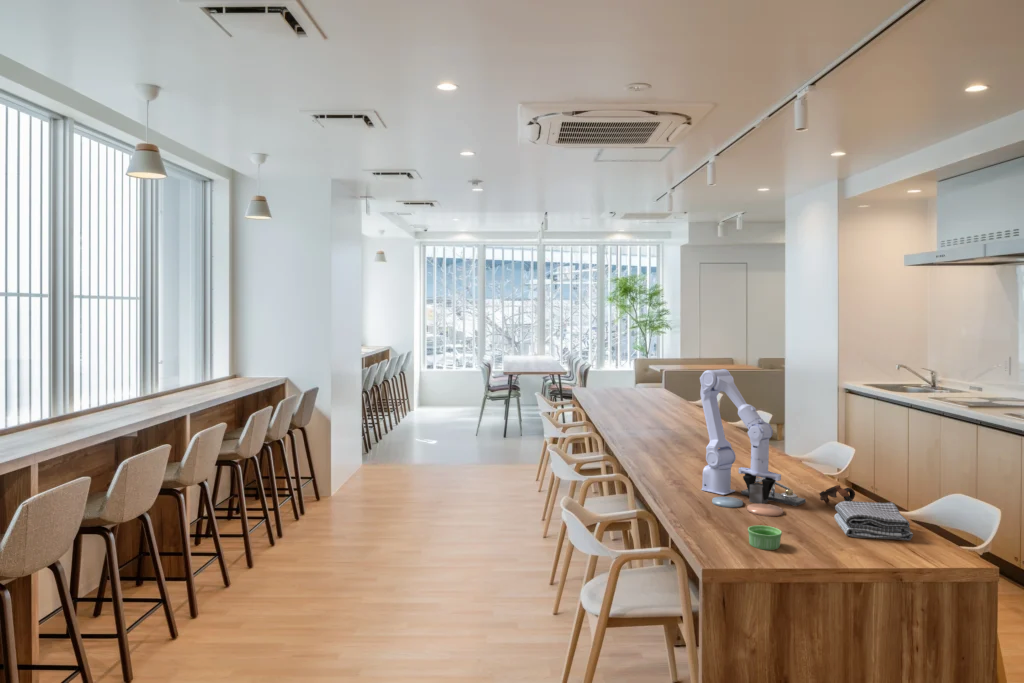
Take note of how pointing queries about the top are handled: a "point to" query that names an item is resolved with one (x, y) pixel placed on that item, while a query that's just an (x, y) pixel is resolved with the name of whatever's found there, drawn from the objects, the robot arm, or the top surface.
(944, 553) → the top surface
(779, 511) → the dish
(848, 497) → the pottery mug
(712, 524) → the top surface
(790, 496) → the balance
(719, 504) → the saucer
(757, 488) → the block
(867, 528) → the towel
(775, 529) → the ramekin
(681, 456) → the top surface
